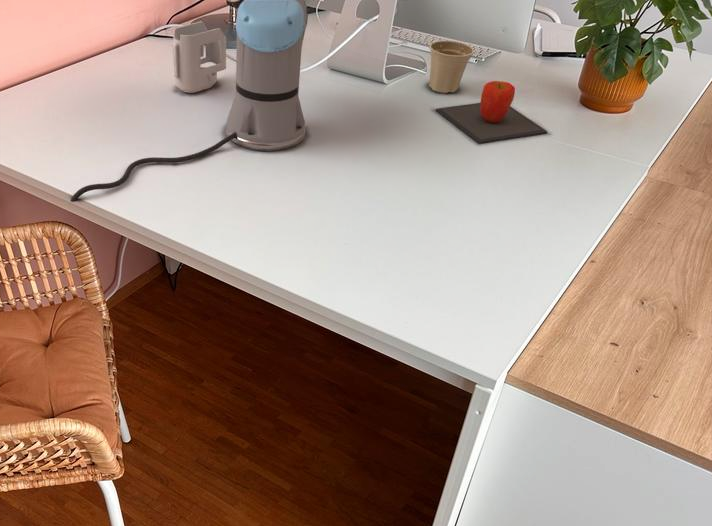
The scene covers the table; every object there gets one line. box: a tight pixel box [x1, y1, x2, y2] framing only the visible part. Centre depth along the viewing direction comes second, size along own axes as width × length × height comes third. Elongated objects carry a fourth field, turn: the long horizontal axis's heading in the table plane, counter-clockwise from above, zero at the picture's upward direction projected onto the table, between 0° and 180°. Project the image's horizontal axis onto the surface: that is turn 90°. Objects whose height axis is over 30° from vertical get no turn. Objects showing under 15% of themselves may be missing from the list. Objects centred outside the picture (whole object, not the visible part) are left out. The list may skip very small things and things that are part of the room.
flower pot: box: [428, 40, 475, 94], centre depth 153 cm, size 9×9×9 cm
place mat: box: [435, 102, 548, 145], centre depth 144 cm, size 16×16×1 cm
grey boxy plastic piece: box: [172, 20, 227, 94], centre depth 149 cm, size 7×12×12 cm, turn 135°
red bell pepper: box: [480, 80, 516, 123], centre depth 141 cm, size 6×6×8 cm
